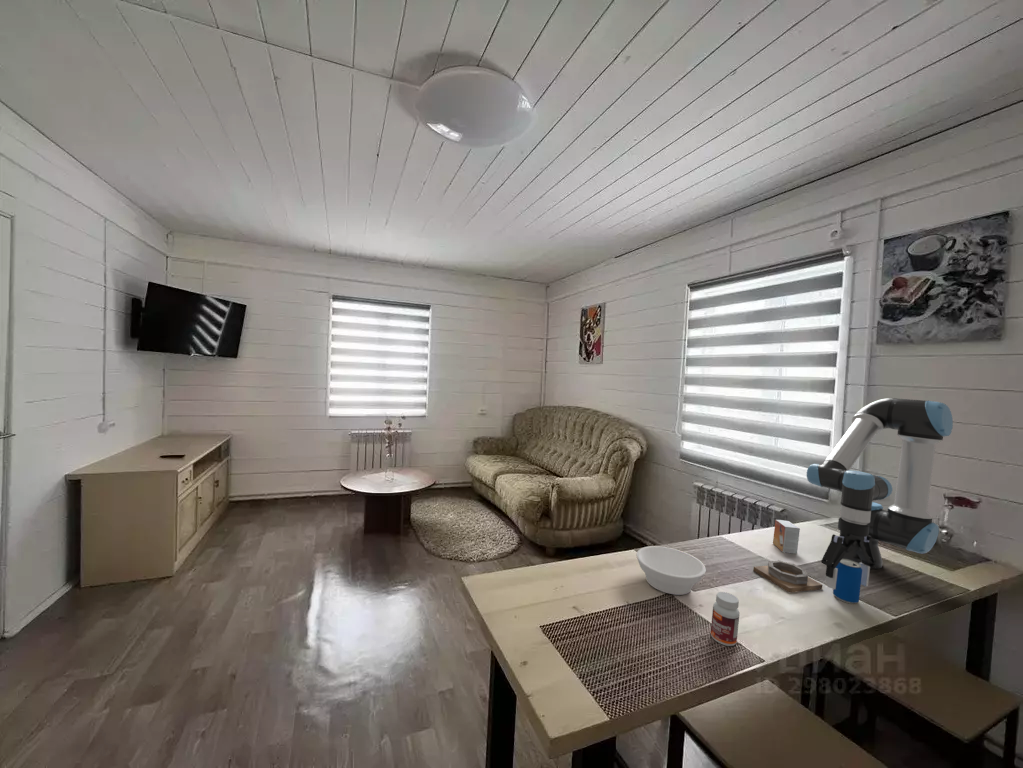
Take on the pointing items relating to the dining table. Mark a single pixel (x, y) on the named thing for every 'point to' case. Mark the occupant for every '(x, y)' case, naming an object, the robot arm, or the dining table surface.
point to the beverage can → (848, 581)
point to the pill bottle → (725, 619)
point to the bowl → (670, 569)
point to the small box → (786, 536)
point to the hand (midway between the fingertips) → (846, 585)
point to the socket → (787, 576)
